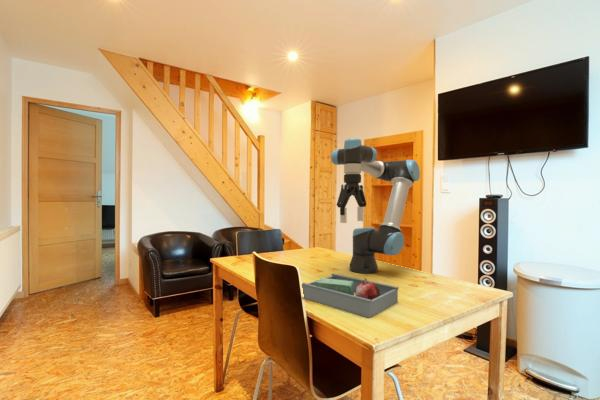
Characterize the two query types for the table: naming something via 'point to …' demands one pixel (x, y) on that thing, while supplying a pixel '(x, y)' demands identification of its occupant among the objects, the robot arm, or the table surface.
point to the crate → (351, 297)
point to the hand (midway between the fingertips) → (352, 222)
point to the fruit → (367, 290)
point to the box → (337, 285)
